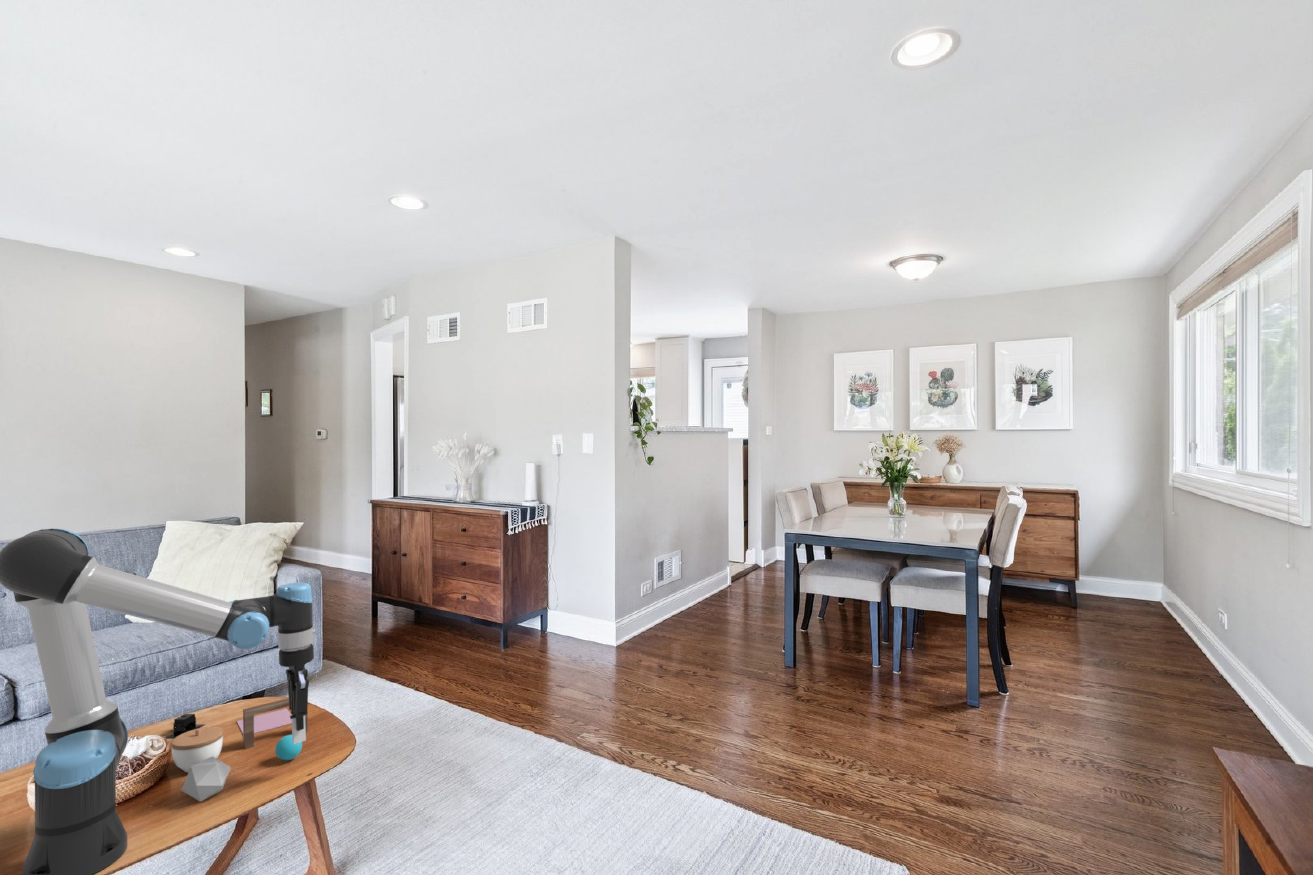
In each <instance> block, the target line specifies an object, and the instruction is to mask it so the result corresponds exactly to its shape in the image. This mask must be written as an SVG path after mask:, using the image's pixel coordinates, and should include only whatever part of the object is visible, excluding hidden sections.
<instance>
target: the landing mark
mask: <svg viewBox="0 0 1313 875" xmlns="http://www.w3.org/2000/svg"><path fill="white" fill-rule="evenodd" d="M291 715H292V714H291V711H290V710H289V708H288V707H287V708H286V707H285V708H281V709H277V710H273V711H269V712H265V713H261V714H257V715H254V735H255V734H259V733H262V732H265V731H270V730H273V729H277V728H278V729H279V728H280V727H284V726H288V725H292V719H290V716H291ZM236 723H237V725H238V727H239V729H240V732H241V733H242V734H243V719H239V720H236Z"/></svg>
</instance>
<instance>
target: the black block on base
mask: <svg viewBox="0 0 1313 875" xmlns="http://www.w3.org/2000/svg"><path fill="white" fill-rule="evenodd" d="M173 721H174V722H173V723H172V724H173V725H172V729H173V732H172V733H170V734H167V735H166V736H165V737H164V738H166V739H165V740H173V739H174V738H176V737H177V736H179V735H181V734H183V733H185V732H188V731H191V730H195V729H199V728H203V727H204V726H206V725H207V724H204V723H198V724H197V717H196V714H195V713H183V714H182V715H180V716H178V717H176V718H174V720H173Z"/></svg>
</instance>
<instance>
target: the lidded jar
mask: <svg viewBox="0 0 1313 875" xmlns="http://www.w3.org/2000/svg"><path fill="white" fill-rule="evenodd" d="M223 742H224V729H223V728H222V727H219V726H205V727H204V726H203V727H201V728H199V729H195V730H191V731H188V732H185V733H183V734H181V735H179V736H177V737H176V738H174V739H172V741H171V743H170V744H171V756H172V759H173V762H174V764H175V765H176V767H178V768H179V769H180V770H183V772H184V773H189V771H190V768H191V766H193V765H195V764H197V763H200V762H202V761H204V760H206V759H208V758H210V757H212V756H213V757H215V758H217V759H218V757H219V756H220V754H221V751H222V749H223Z"/></svg>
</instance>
